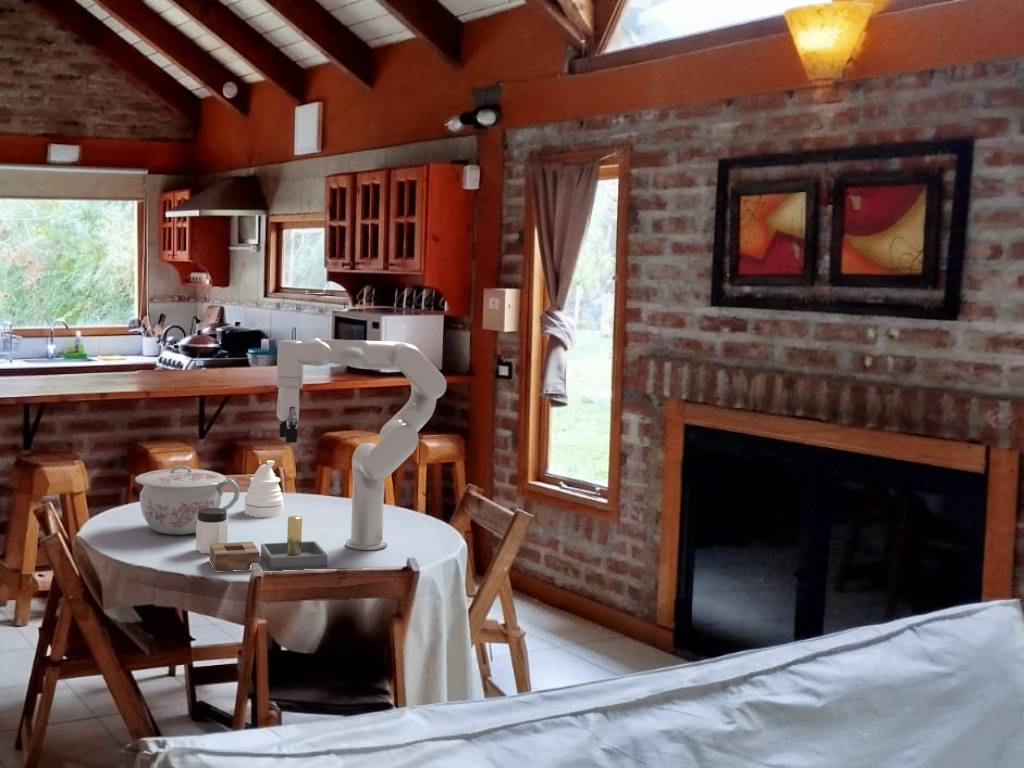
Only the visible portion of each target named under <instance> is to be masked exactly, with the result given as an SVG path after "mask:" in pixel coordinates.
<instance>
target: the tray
mask: <svg viewBox="0 0 1024 768" xmlns="http://www.w3.org/2000/svg"><path fill="white" fill-rule="evenodd" d="M260 556H261V558H262V559H263V561H264V562H265V563H266V565H267V567H268V568H269V570H270V571H276V570H277V571H280V570H281V571H282V569H283V570H297V569H296V568H301V569H314V568H315V569H316V568H328V558H329V557H328V554H327V553H326V551H324V549H323V547H321V545H320V544H319V543H318V542H317V541H315V540H311V541H307V540H306V541H301V556H287V541H286V542H269V543H260Z"/></svg>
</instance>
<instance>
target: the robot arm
mask: <svg viewBox="0 0 1024 768" xmlns="http://www.w3.org/2000/svg"><path fill="white" fill-rule="evenodd" d="M276 355H277V357H276V358H277V359H276V362H277V363H276V388H278V392H277V393H278V394H277V405H276V406H277V408H276V418H277V419H278V420H279V438H285V442H286V444H288V443H290V444H291V443H293V444H294V443H297V442H298V421H299V418H300V416H299V415H300V389H302V388H303V387H304V385H303V381H304V380H303V379H304V377H303V376H304V365H305V366H313V367H322V366H325V365H327V364H334V365H344V366H348V367H351V368H355V369H362V370H363V369H364V370H392V371H393V370H394V371H400V372H401V373H402V374H403V375H404V376H405V377H406V378H407V379H408V380H409V381H410V382H409V383H410V388H411V390H410V391H411V392H410V396H409V399H408V401H407V402H406V403H405V404H404V405H403V407H402V408H401V409H400V410H399V411H398V412H396V414H395V415H394V416H393V417H392V418H390V420H388V421H387V422H385V424H384V425H383V426H382V428H381V429H380V432H379V439H380V442H378V443H377V444H375V443H372V442H365V443H362V444H360V445H359V446H358V445H357V447H356V448H355V450H354V452H353V453H352V454H353V455H352V458H351V470H352V497H351V498H352V499H351V500H352V501H351V502H352V504H351V526H350V527H351V529H350V530H351V533H350V538H348V539H346V540H345V546H346V547H348V548H349V549H353V550H360V551H376V550H381V549H384V548H385V549H386V547H387V546H388V542H387V540H385V539H383V532H384V531H383V527H384V526H383V525H384V524H383V523H384V503H385V502H384V501H385V479H386V478H387V477H389V476H390V475H392V474H393V472H395V471H396V470H397V469H398V468H399V467H400V466H401V465H402V464H403V463H404V462H405V461H406V460H407V459H408V458H409V457H410V456H411V455H412V454H413V453H414V451H415V450H416V449H417V447H418V444H419V440H420V439H419V438H420V437H419V433H418V432H419V431H420V430H421V429H422V428H423V427H424V426H425V425H426V423H428V421H429V420H430V419H431V418H432V416H433V413H434V411H435V409H436V405H437V399H439V398H441V397H443V395H445V392H447V391H446V390H447V380H446V378H445V375H443V373H441V372H440V370H439V369H438V368H437V367H436V366H435V365H434V364H433V363H432V362H431V361H430V360H429V359H428V357H426V356H425V355H424V353H423V352H422V351H421V350H420V349H418V348H417V347H416V346H415V345H413V344H411V343H408V342H407V343H406V342H401V341H384V340H383V341H382V340H360V339H359V340H358V339H337V338H336V339H335V338H333V339H332V338H315V337H314V338H308V339H306V340H304V341H303V342H302V341H301V340H298V339H283V340H280V341H279V342H278V343H277V353H276Z"/></svg>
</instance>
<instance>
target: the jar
mask: <svg viewBox="0 0 1024 768" xmlns="http://www.w3.org/2000/svg"><path fill="white" fill-rule="evenodd" d="M227 512H228V510H225V509H222V507H220V508H204V509H200V510H199V511H198V519H197V523H196V533H195V537H196V538H195V550H196V549H197V550H198V551H200V552H202V553H210V544H214V543H228V538H229V536H228V534H229V531H228V530H229V529H228V528H229V519H228V518H227V516H228V515H227V514H228V513H227ZM197 550H196V551H197ZM198 551H197V552H198ZM200 552H199V553H200ZM202 553H201V554H202Z"/></svg>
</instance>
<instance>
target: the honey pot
mask: <svg viewBox="0 0 1024 768" xmlns="http://www.w3.org/2000/svg"><path fill="white" fill-rule="evenodd" d="M275 461H276V460H266V464H265V463H264V464H262V465H260V466H259V467H258V469H257V470H256V471H255V473H254V475H253V476H252V477H250V480H249V481H250V484H249V486H248V488H247V491H246V494H245V496H244V508H243V510H244V511H243V512H244V513H245V514H247V515H250V516H249V517H251V516H254V517H253V518H260V517H262V519H264V518H263V517H265V518H266V519H267V518H275V517H280V516H282V515H283V514H284V497H283V495H282V494H283V493H282V491H281V490H282V489H281V487H280V485H279V483H280V482H281V478H280V477H278V476H276V475H275V472H274V471H273V469H272V467H273V466H274V465H275ZM244 513H243V514H244ZM245 514H244V515H245ZM247 515H246V516H247Z"/></svg>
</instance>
